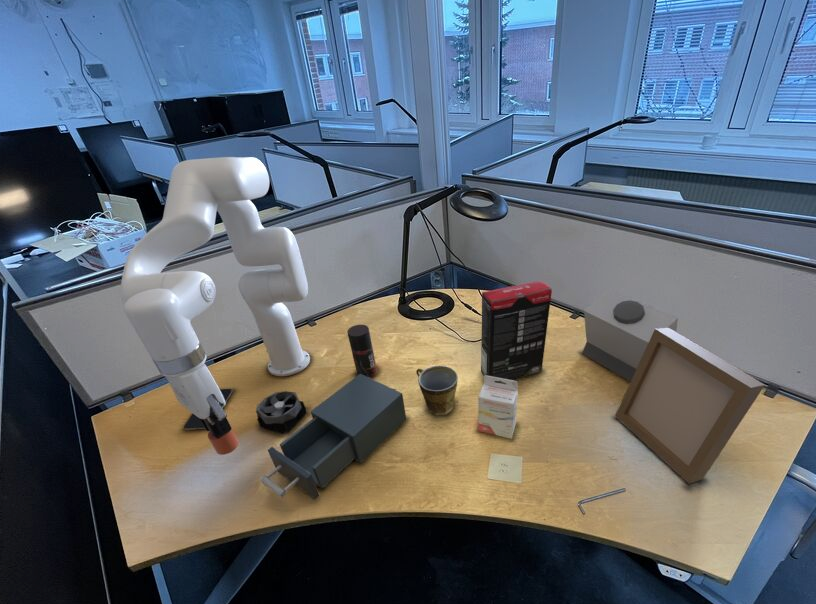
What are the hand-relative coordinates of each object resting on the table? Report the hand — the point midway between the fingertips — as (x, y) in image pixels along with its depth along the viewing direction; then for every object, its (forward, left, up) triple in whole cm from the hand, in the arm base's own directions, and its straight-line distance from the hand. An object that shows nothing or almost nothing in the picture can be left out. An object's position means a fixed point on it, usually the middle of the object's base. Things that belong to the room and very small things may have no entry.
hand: (218, 429), depth 83 cm
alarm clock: (+57, +86, -17) cm, 105 cm away
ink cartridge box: (+39, +44, -17) cm, 62 cm away
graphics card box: (+32, +65, -17) cm, 75 cm away
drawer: (+11, +11, -16) cm, 22 cm away
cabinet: (+11, +26, -17) cm, 33 cm away
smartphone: (-31, +8, -17) cm, 36 cm away
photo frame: (+75, +63, -17) cm, 100 cm away
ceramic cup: (+21, +43, -17) cm, 51 cm away
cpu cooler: (-10, +17, -17) cm, 26 cm away
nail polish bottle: (0, 0, -5) cm, 5 cm away
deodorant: (-5, +43, -17) cm, 47 cm away
